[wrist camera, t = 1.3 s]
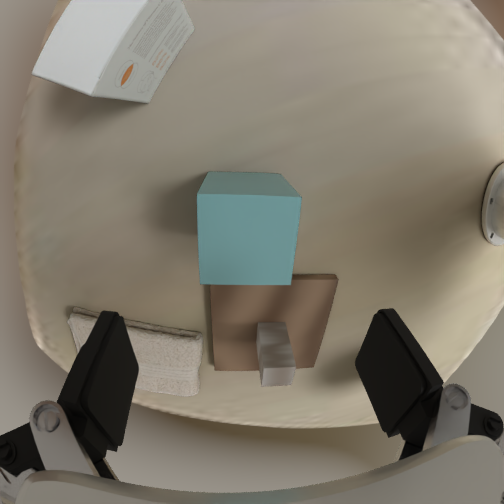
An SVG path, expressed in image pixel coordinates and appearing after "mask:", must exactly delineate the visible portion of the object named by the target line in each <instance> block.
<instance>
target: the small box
mask: <svg viewBox="0 0 504 504" xmlns="http://www.w3.org/2000/svg"><path fill="white" fill-rule="evenodd" d="M194 30H195V28H194V26H193V24H192V22H191V19H190V17H189V15H188V13H187V11H186V8H185V6H184V4H183V2H182V0H71V2H70V3H69V5H68V6H67V8H66V9H65V11H64V12H63V14H62V16H61V17H60V19H59V20H58V22H57V24H56V26H55V27H54V29H53V31H52V32H51V34H50V36H49V38H48V40H47V42H46V44H45V46H44V48H43V50H42V52H41V54H40V56H39V58H38V60H37V62H36V64H35V67H34V69H33V71H32V75H33V76H36V77H39V78H42V79H45V80H48V81H51V82H54V83H56V84H59V85H62V86H65V87H67V88H70V89H73V90H75V91H78V92H80V93H83V94H86V95H88V96H91V97H102V98H112V99H120V100H127V101H135V102H142V103H149V102H150V100H151V98H152V96H153V95H154V93H155V91H156V89H157V87H158V85H159V84H160V82H161V80H162V79H163V77H164V75H165V74H166V72H167V70H168V69H169V67H170V65H171V64H172V62H173V61H174V59H175V57H176V56H177V54H178V53H179V51H180V50H181V48H182V47H183V45H184V44H185V42H186V41H187V39H188V38H189V37H190V35H191V34H192V33H193V31H194Z"/></svg>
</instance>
